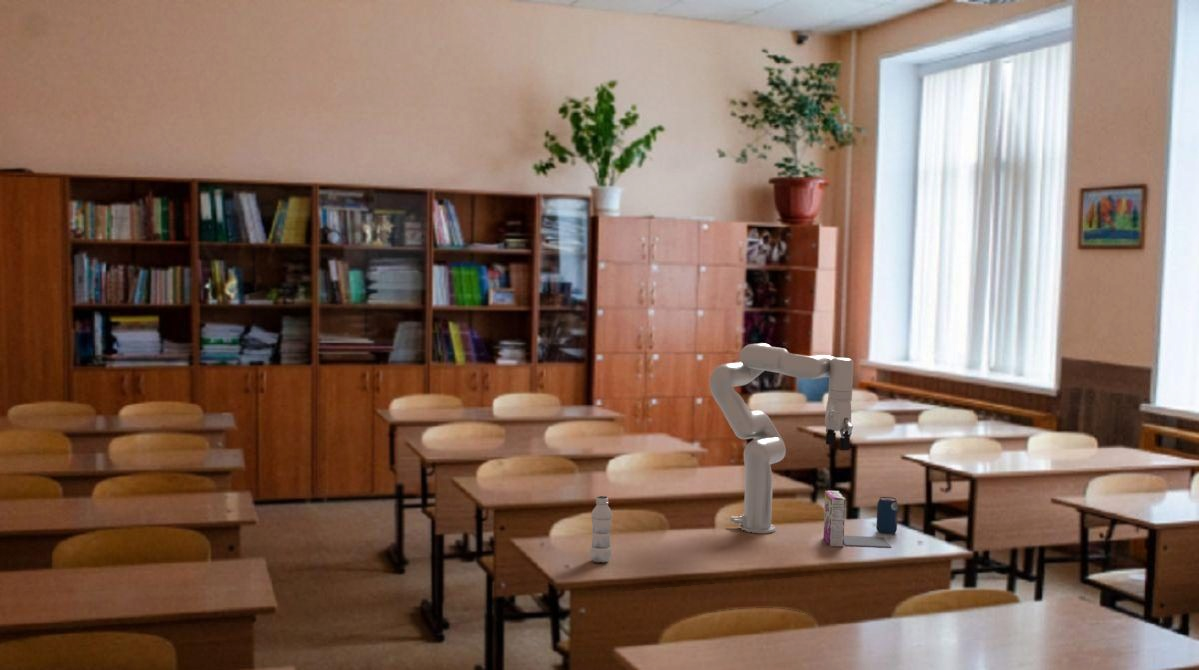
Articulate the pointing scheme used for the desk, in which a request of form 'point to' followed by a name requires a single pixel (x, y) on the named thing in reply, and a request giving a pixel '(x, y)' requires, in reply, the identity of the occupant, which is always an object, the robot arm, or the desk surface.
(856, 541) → the mat
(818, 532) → the desk surface
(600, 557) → the plastic bottle
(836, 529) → the candy bar box
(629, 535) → the desk surface
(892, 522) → the soda can
